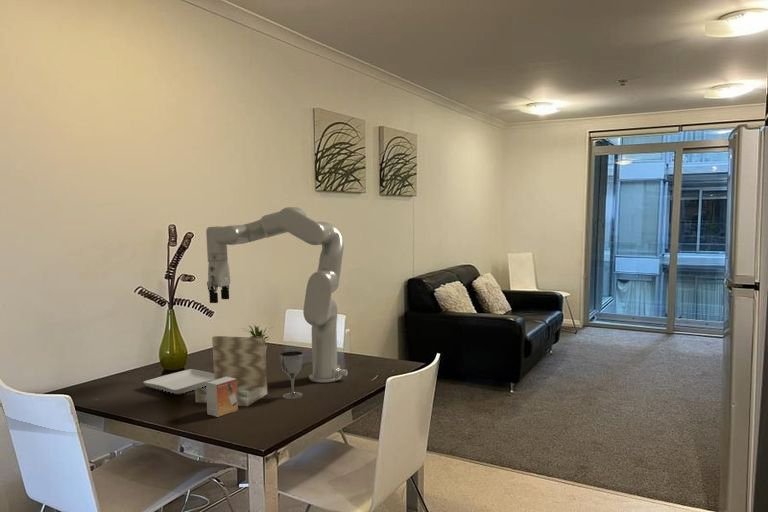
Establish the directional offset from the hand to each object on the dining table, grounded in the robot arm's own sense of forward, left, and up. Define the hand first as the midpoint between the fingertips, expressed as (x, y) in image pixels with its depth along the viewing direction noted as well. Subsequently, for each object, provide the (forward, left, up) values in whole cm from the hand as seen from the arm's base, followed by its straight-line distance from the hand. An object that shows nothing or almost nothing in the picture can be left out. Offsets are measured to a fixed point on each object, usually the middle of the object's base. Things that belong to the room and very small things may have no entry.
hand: (219, 301), depth 217 cm
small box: (-24, +37, -30) cm, 54 cm away
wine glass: (-39, +17, -30) cm, 52 cm away
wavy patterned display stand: (-19, +24, -30) cm, 43 cm away
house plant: (0, -26, -30) cm, 40 cm away
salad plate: (+7, +15, -31) cm, 35 cm away
